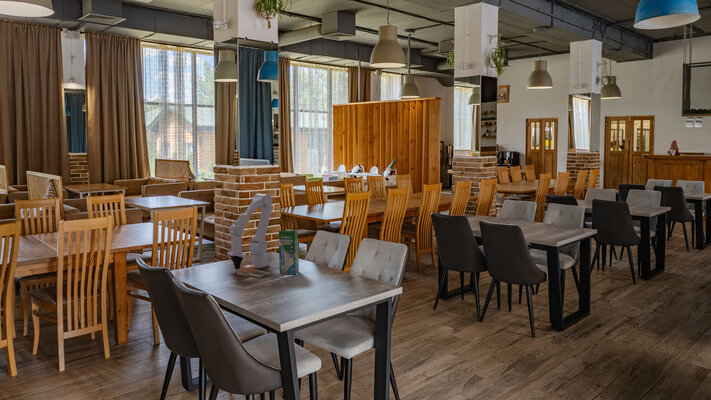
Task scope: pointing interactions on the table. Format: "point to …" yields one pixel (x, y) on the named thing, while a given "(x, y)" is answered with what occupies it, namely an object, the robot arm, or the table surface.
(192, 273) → the table surface
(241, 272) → the chute
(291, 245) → the milk carton
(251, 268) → the block
